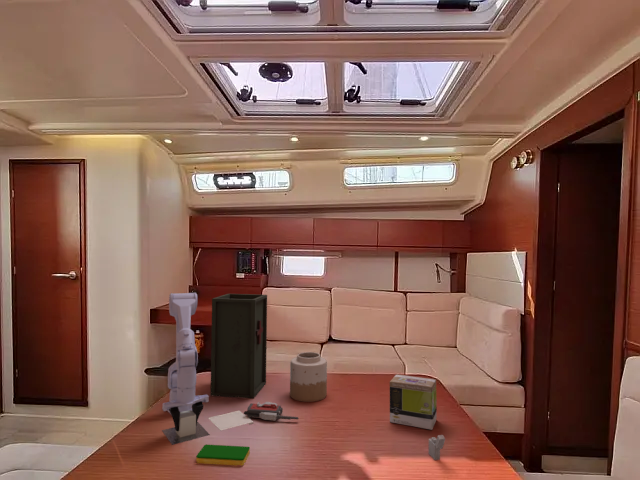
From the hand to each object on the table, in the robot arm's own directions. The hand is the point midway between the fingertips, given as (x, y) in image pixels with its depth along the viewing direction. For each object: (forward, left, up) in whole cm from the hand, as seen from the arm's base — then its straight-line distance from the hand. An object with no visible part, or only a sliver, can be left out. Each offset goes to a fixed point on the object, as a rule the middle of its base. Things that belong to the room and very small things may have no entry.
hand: (185, 427), depth 133 cm
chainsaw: (+4, +30, -2) cm, 30 cm away
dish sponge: (+21, +5, -3) cm, 22 cm away
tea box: (+35, +70, -2) cm, 78 cm away
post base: (0, 0, -2) cm, 2 cm away
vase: (-7, +53, -2) cm, 54 cm away
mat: (-1, +16, -2) cm, 16 cm away
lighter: (+57, +56, -2) cm, 80 cm away
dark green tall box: (-29, +32, -2) cm, 43 cm away
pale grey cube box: (0, 0, -2) cm, 2 cm away
